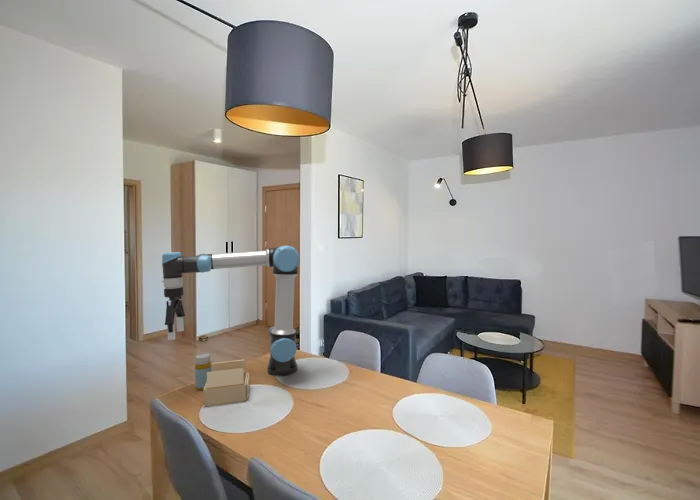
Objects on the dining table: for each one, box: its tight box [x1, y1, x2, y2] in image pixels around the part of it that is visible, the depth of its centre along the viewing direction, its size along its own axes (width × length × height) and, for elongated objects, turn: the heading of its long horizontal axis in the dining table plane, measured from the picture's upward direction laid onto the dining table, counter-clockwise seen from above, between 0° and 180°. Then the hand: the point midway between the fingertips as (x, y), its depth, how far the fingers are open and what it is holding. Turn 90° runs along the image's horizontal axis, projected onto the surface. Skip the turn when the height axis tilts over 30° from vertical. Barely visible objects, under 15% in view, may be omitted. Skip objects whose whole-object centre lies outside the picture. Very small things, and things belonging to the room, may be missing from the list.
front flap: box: [207, 368, 244, 388], centre depth 141 cm, size 6×14×1 cm
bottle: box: [194, 352, 212, 391], centre depth 156 cm, size 7×7×15 cm
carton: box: [202, 371, 251, 408], centre depth 147 cm, size 17×14×7 cm
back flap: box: [211, 359, 247, 373], centre depth 152 cm, size 6×14×1 cm
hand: (176, 335), depth 149 cm, fingers open, 13 cm apart
